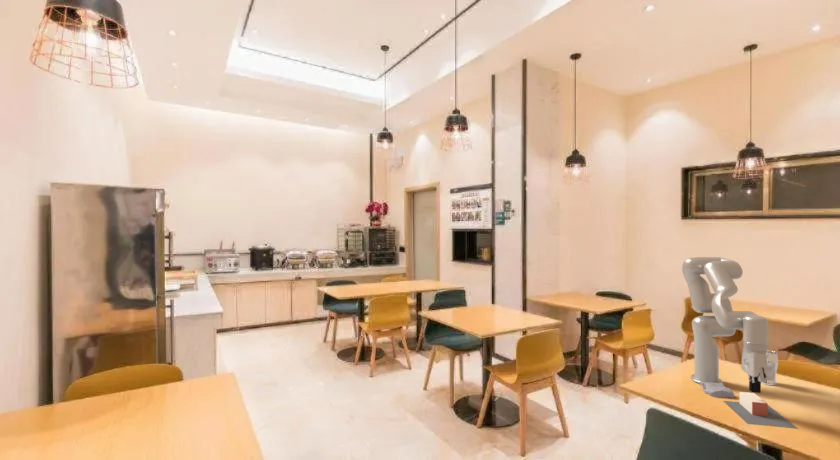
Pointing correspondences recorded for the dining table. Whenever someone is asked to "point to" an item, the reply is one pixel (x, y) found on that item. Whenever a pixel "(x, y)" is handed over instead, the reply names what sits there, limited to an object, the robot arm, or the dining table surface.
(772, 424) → the charcoal mat
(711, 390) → the stone block
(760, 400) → the cream block
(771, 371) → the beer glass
